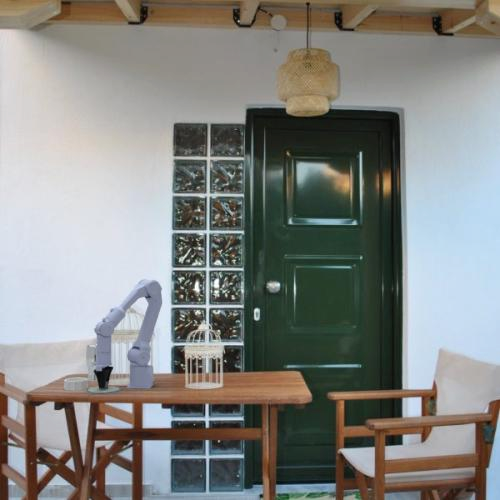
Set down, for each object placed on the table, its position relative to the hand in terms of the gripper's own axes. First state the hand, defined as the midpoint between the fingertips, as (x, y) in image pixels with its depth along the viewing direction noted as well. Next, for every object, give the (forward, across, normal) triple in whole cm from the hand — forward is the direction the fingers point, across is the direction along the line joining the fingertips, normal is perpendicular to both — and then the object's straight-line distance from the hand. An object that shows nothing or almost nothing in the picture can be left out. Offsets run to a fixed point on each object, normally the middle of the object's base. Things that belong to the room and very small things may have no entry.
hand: (103, 386), depth 256 cm
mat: (+2, 0, 0) cm, 2 cm away
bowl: (+2, -3, -12) cm, 13 cm away
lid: (+2, 0, 0) cm, 2 cm away
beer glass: (+2, -22, -10) cm, 24 cm away
